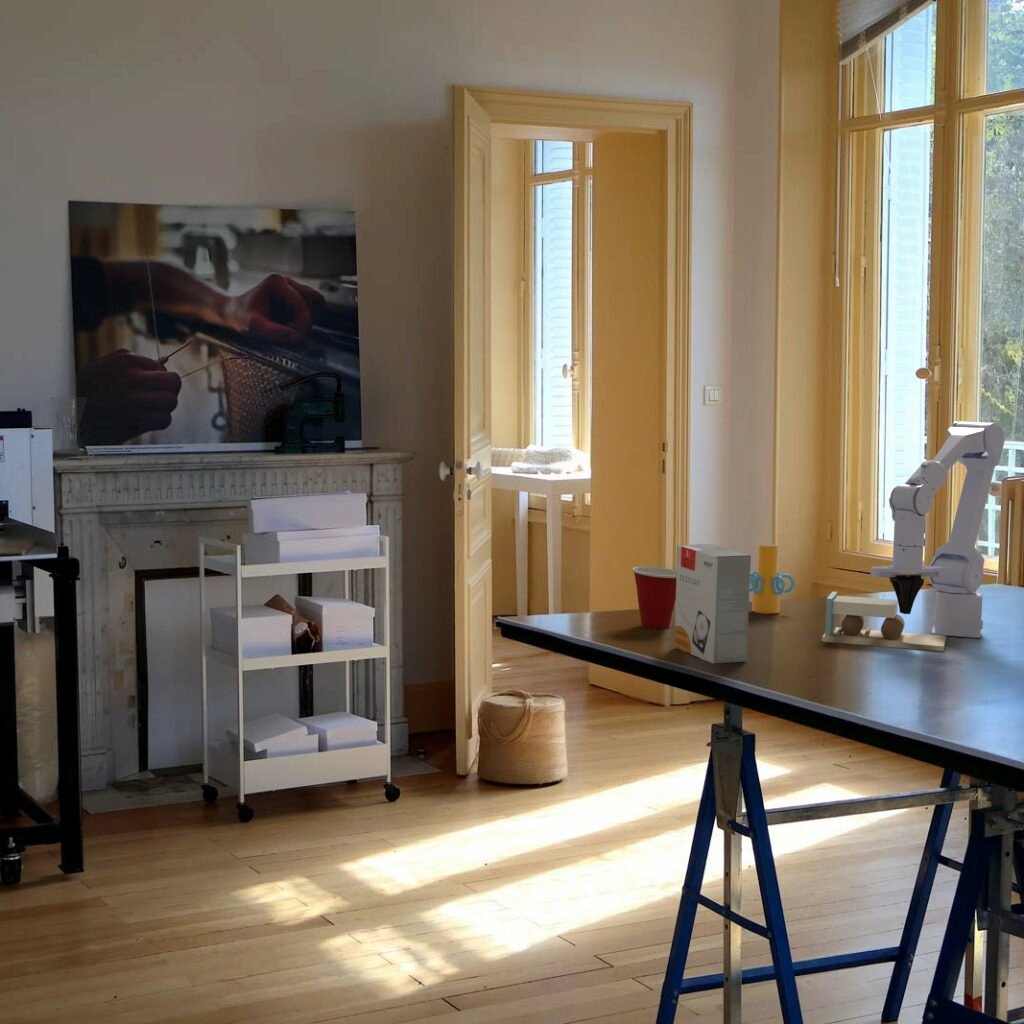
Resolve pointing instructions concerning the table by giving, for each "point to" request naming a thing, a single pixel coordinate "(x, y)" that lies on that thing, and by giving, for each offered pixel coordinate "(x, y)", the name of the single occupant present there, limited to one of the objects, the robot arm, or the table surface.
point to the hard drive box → (712, 603)
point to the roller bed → (881, 634)
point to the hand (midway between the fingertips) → (905, 613)
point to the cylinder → (768, 582)
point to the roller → (852, 624)
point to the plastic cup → (655, 595)
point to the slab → (865, 606)
